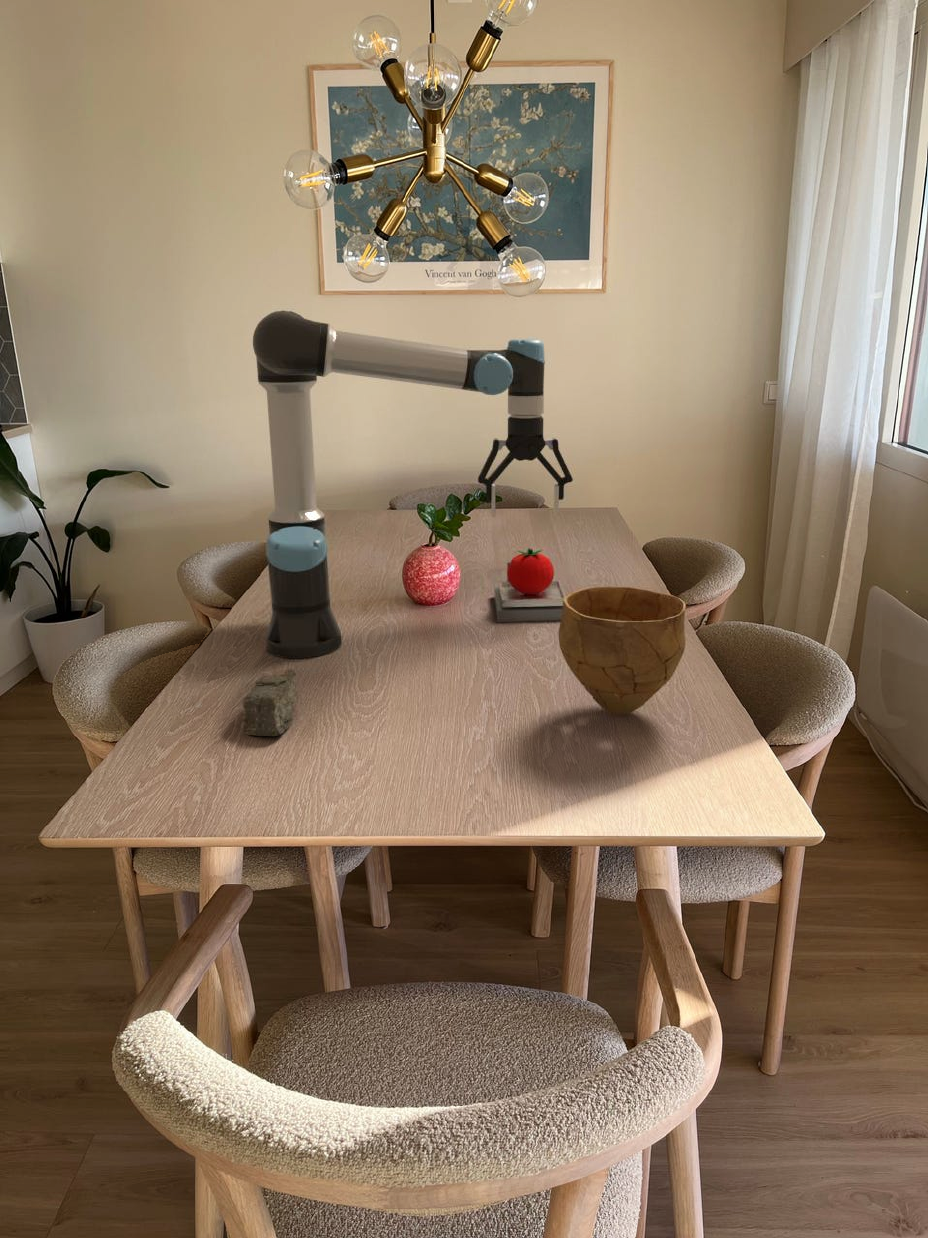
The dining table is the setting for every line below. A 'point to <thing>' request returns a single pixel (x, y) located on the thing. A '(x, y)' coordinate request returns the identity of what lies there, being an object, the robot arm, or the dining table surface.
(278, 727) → the rock
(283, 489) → the robot arm
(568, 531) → the dining table surface
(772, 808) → the dining table surface
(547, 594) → the pan
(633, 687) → the bowl
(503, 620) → the scale body
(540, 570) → the tomato
